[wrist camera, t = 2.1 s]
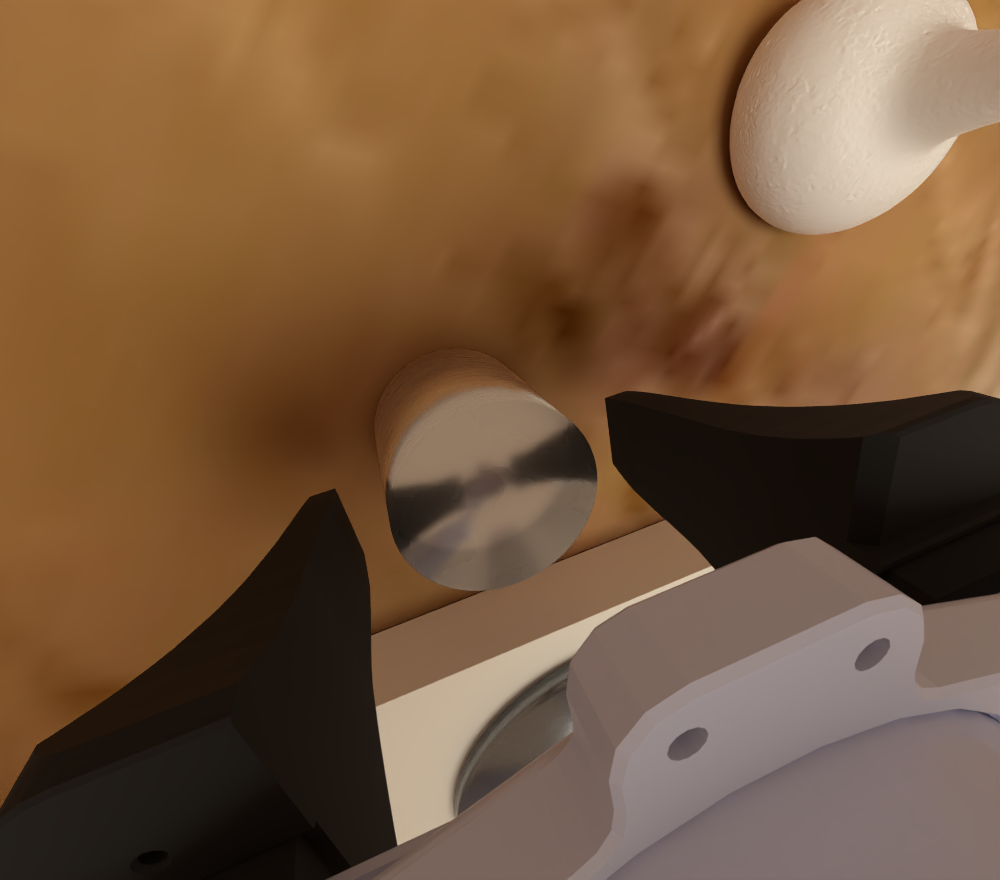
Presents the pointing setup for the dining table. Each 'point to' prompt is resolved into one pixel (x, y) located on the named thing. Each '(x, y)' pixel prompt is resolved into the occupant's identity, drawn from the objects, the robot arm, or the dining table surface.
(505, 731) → the pan
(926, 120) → the garlic bulb
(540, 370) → the dining table surface
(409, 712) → the base
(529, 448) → the cylinder
